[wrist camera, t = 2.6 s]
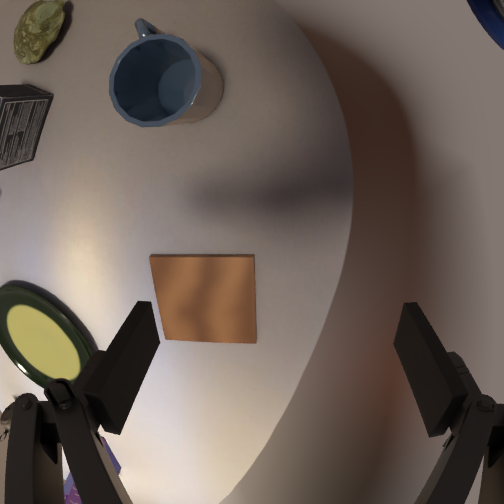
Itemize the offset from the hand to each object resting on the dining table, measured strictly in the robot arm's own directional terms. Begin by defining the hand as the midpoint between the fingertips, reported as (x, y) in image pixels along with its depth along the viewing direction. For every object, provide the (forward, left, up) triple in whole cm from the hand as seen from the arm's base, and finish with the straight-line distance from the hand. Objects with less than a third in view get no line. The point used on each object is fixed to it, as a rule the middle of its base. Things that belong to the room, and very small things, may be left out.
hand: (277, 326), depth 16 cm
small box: (+35, -14, -25) cm, 45 cm away
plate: (+45, +26, -25) cm, 58 cm away
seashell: (+32, -28, -25) cm, 49 cm away
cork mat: (+10, +14, -25) cm, 30 cm away
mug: (+10, -15, -25) cm, 31 cm away
